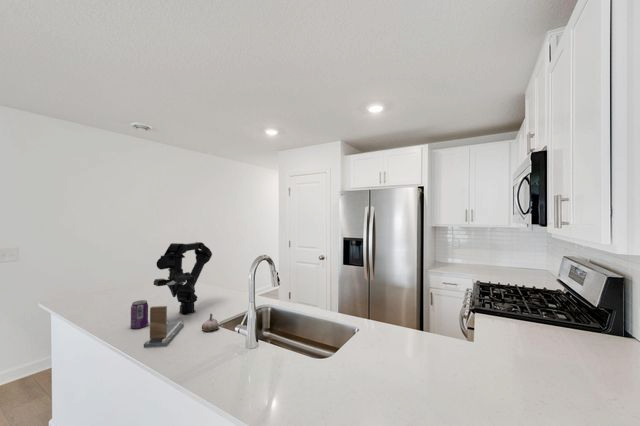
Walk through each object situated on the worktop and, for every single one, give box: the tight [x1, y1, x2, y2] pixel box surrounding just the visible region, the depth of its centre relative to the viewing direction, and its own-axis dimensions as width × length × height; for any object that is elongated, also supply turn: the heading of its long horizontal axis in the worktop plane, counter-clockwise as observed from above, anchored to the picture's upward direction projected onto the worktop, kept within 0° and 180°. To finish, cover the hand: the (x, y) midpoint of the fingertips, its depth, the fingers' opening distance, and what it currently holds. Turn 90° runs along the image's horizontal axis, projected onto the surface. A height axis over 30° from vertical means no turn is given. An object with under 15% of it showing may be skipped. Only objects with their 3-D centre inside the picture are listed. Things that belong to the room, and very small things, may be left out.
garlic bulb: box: [201, 312, 220, 332], centre depth 130 cm, size 8×7×8 cm
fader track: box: [143, 321, 185, 348], centre depth 123 cm, size 20×9×2 cm, turn 9°
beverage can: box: [130, 299, 149, 329], centre depth 133 cm, size 7×7×12 cm
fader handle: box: [149, 305, 168, 343], centre depth 115 cm, size 4×6×14 cm, turn 99°
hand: (174, 297), depth 142 cm, fingers closed
